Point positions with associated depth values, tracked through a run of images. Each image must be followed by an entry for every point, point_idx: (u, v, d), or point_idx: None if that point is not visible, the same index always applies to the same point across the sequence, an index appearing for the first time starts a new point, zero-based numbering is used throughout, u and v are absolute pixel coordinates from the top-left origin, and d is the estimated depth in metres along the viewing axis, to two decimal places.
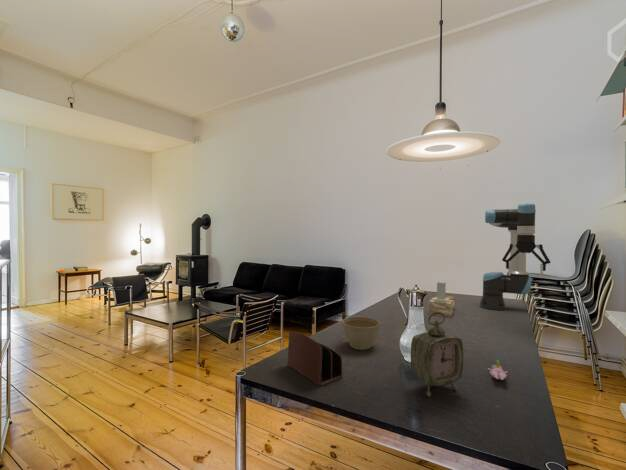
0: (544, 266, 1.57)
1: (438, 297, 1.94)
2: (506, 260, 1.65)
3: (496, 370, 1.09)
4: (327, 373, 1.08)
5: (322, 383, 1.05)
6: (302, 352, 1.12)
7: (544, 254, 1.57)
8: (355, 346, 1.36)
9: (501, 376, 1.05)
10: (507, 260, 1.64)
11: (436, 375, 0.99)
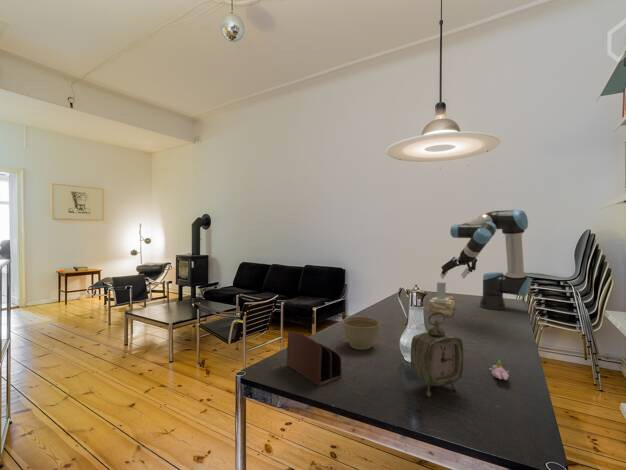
0: None
1: (438, 297, 1.94)
2: (470, 267, 1.81)
3: (498, 370, 1.09)
4: (326, 373, 1.08)
5: (321, 383, 1.05)
6: (301, 352, 1.12)
7: None
8: (355, 346, 1.36)
9: (504, 376, 1.05)
10: None
11: (436, 375, 0.99)
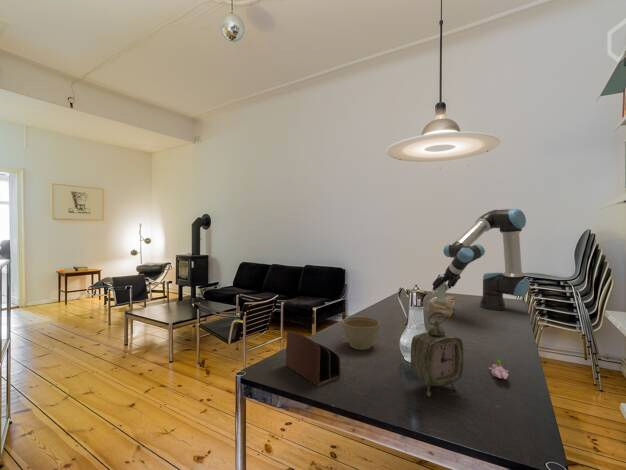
0: None
1: (438, 297, 1.94)
2: None
3: (498, 369, 1.09)
4: (325, 373, 1.08)
5: (320, 383, 1.04)
6: (300, 352, 1.12)
7: None
8: (355, 346, 1.36)
9: (504, 375, 1.06)
10: None
11: (436, 375, 0.99)
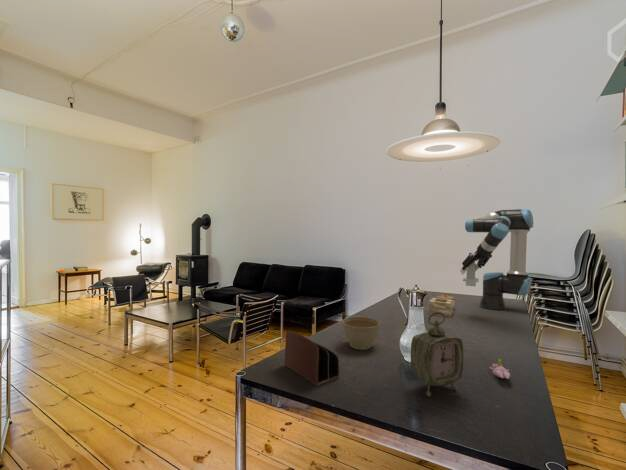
0: None
1: (468, 277, 1.87)
2: None
3: (500, 369, 1.10)
4: (324, 373, 1.08)
5: (319, 383, 1.04)
6: (299, 352, 1.12)
7: None
8: (355, 346, 1.36)
9: (506, 375, 1.06)
10: None
11: (436, 375, 0.99)
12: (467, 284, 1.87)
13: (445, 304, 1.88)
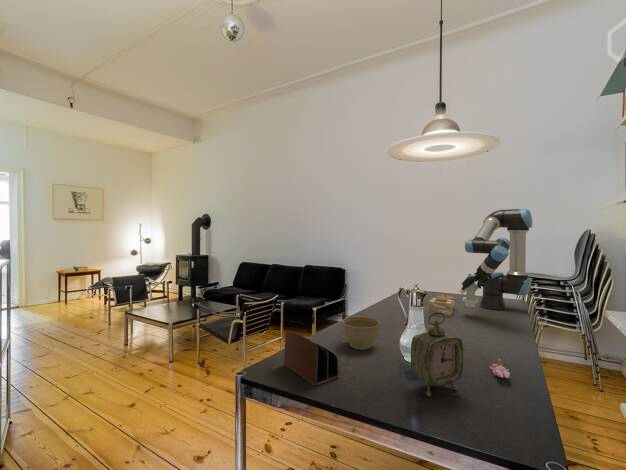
0: None
1: (467, 297, 1.88)
2: None
3: (499, 368, 1.10)
4: (323, 373, 1.08)
5: (318, 383, 1.04)
6: (298, 352, 1.12)
7: None
8: (355, 346, 1.36)
9: (506, 374, 1.06)
10: None
11: (436, 375, 0.99)
12: (467, 304, 1.87)
13: (445, 304, 1.88)
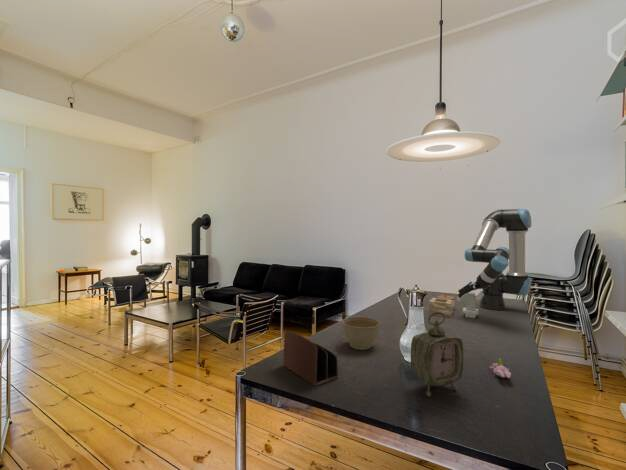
0: None
1: (467, 308, 1.88)
2: None
3: (500, 368, 1.10)
4: (322, 373, 1.08)
5: (317, 383, 1.04)
6: (298, 352, 1.12)
7: None
8: (355, 346, 1.36)
9: (507, 374, 1.06)
10: None
11: (436, 375, 0.99)
12: (467, 315, 1.88)
13: (445, 304, 1.88)
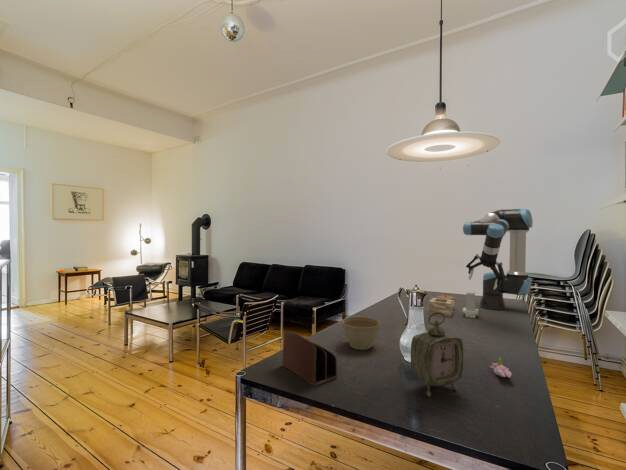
0: None
1: (467, 308, 1.88)
2: None
3: (501, 368, 1.10)
4: (321, 373, 1.08)
5: (316, 383, 1.04)
6: (297, 352, 1.12)
7: None
8: (355, 346, 1.36)
9: (507, 374, 1.07)
10: None
11: (436, 375, 0.99)
12: (467, 315, 1.88)
13: (445, 304, 1.88)
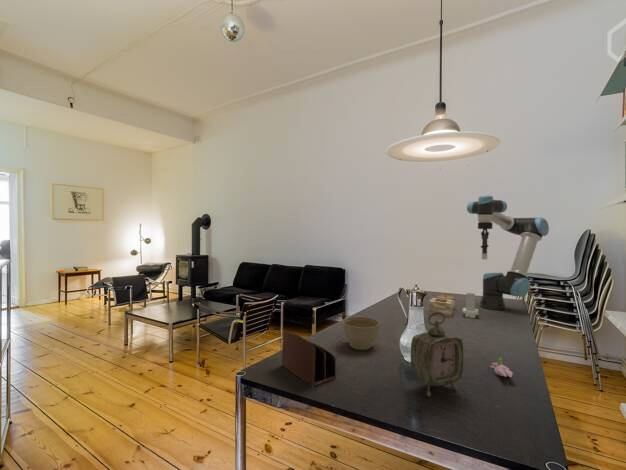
0: None
1: (467, 308, 1.88)
2: None
3: (501, 368, 1.11)
4: (321, 373, 1.08)
5: (315, 384, 1.04)
6: (296, 352, 1.12)
7: None
8: (355, 346, 1.36)
9: (509, 373, 1.07)
10: (487, 245, 1.80)
11: (436, 375, 0.99)
12: (467, 315, 1.88)
13: (445, 304, 1.88)
